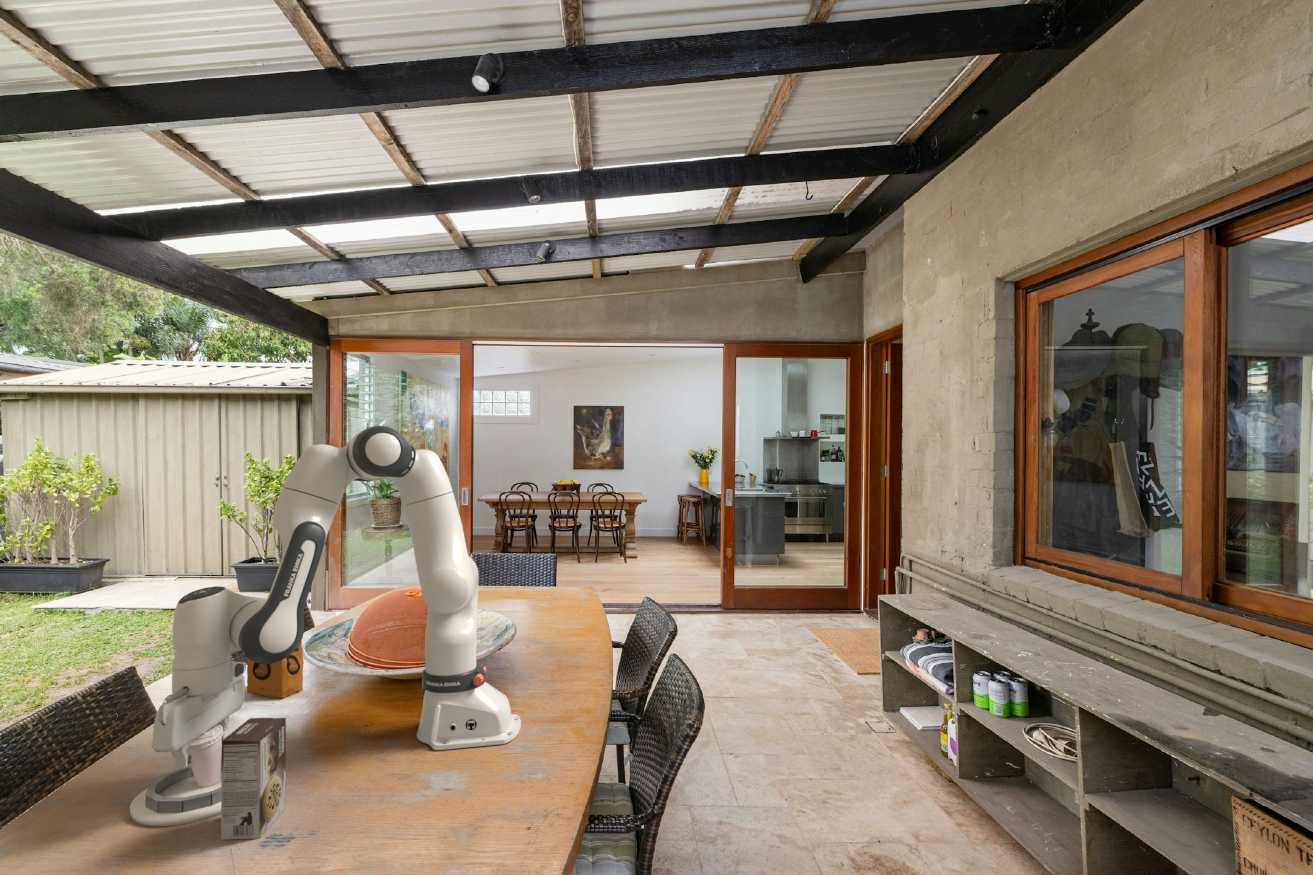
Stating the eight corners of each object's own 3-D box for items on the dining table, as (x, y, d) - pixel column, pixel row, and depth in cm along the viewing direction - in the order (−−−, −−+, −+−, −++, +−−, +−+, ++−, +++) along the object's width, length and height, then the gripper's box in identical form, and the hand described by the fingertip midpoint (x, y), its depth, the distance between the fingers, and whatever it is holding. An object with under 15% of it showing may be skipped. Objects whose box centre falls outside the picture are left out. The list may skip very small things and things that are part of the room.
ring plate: (285, 767, 130) (285, 752, 130) (221, 825, 110) (221, 807, 110) (182, 769, 130) (182, 753, 130) (99, 827, 110) (99, 809, 110)
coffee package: (278, 702, 164) (279, 614, 164) (240, 697, 168) (241, 610, 168) (310, 688, 174) (311, 605, 174) (273, 683, 177) (274, 601, 178)
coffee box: (248, 810, 115) (249, 717, 115) (287, 808, 116) (288, 715, 116) (218, 841, 106) (219, 740, 106) (260, 839, 107) (261, 738, 107)
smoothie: (208, 795, 119) (198, 725, 116) (179, 789, 120) (168, 720, 118) (237, 771, 125) (228, 704, 122) (209, 766, 126) (200, 700, 124)
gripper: (179, 699, 110) (179, 782, 110) (251, 660, 131) (251, 730, 130) (141, 700, 110) (140, 783, 110) (219, 660, 130) (218, 731, 130)
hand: (201, 754), depth 120 cm, fingers open, 8 cm apart
